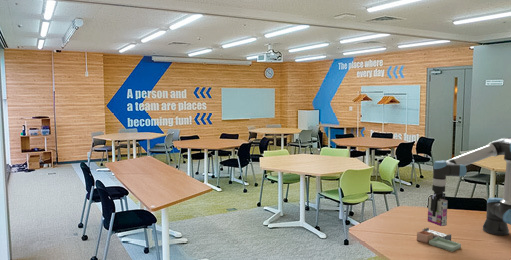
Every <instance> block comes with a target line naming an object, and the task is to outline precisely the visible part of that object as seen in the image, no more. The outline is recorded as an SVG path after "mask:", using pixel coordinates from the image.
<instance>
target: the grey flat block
mask: <svg viewBox="0 0 511 260" xmlns="http://www.w3.org/2000/svg"><path fill="white" fill-rule="evenodd" d="M427 232H430V233H433V236H437V237H440V238H445V236H447V234H448V233H446V234H445V233H443V232H439V231H437V230H432V229H429V231H427Z"/></svg>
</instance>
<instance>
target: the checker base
mask: <svg viewBox="0 0 511 260" xmlns="http://www.w3.org/2000/svg"><path fill="white" fill-rule="evenodd" d="M422 230H424V231H429V230H430V227H424V228H423V229H422ZM446 234H447V236H445V238H443V239H447V240H450V241H452V234H451V233H446ZM436 237H437V236H433V239H434V238H436Z"/></svg>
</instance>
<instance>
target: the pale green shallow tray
mask: <svg viewBox="0 0 511 260" xmlns="http://www.w3.org/2000/svg"><path fill="white" fill-rule="evenodd" d="M428 245H429V246H433V247H436V248H440V249H443V250H445V251H449V252H450V253H451V252H452V253H453V252H455V251H457V250H459V249H461V248H462V243H459V242H456V241H452V240H451V241H450V240H447V239H443V238H440V237H436V238H434V239H431V240H429V243H428Z"/></svg>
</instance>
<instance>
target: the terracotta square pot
mask: <svg viewBox="0 0 511 260" xmlns="http://www.w3.org/2000/svg"><path fill="white" fill-rule="evenodd" d="M431 239H433V233H430V232H427V231H424V230H423V229H422V230H420V231H418V232H417V233H416V241H417V242H421V243H424V244H429V240H431Z"/></svg>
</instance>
